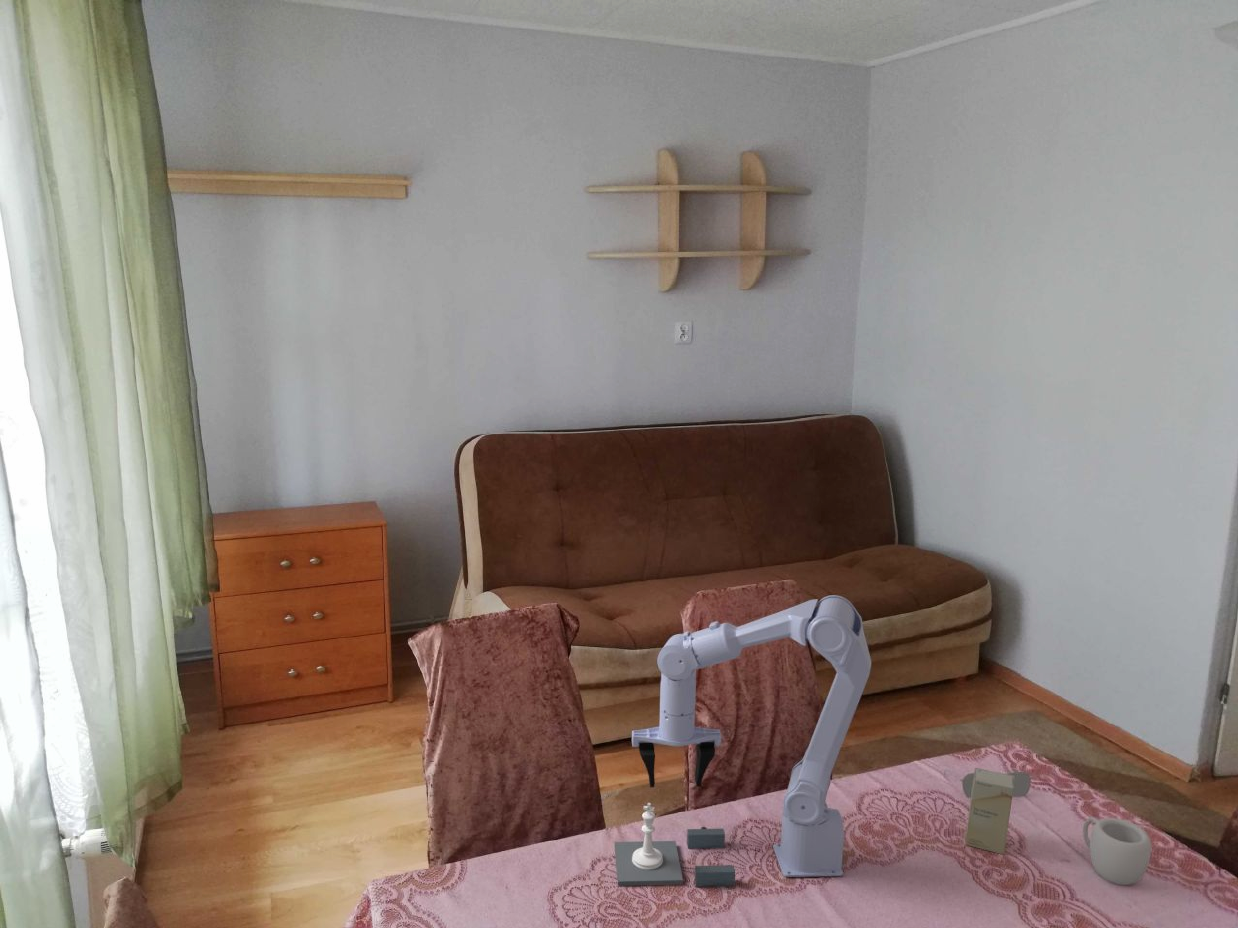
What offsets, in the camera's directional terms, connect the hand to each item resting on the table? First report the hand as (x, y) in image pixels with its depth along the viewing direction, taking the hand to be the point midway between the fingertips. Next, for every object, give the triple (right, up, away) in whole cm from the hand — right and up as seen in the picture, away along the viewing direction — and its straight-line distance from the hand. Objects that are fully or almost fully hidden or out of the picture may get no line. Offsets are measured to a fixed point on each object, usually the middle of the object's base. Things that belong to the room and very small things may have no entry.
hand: (674, 783), depth 157 cm
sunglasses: (+59, -7, +19) cm, 62 cm away
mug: (+69, -12, -5) cm, 71 cm away
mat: (-5, -11, -6) cm, 13 cm away
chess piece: (-5, -10, -6) cm, 13 cm away
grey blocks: (+5, -11, -5) cm, 13 cm away
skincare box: (+52, -11, +1) cm, 53 cm away
